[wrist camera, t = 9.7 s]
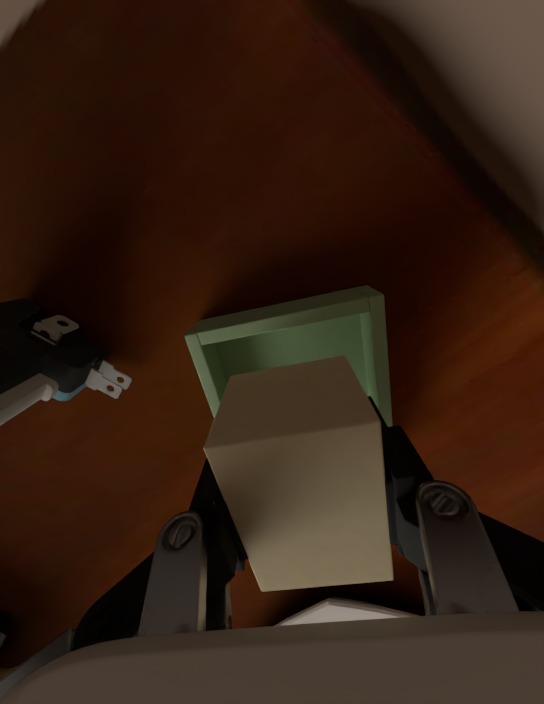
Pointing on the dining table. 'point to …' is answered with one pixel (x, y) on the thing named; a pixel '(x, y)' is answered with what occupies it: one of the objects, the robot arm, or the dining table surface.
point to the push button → (47, 360)
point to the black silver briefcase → (4, 630)
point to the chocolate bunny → (5, 671)
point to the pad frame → (297, 341)
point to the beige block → (304, 475)
